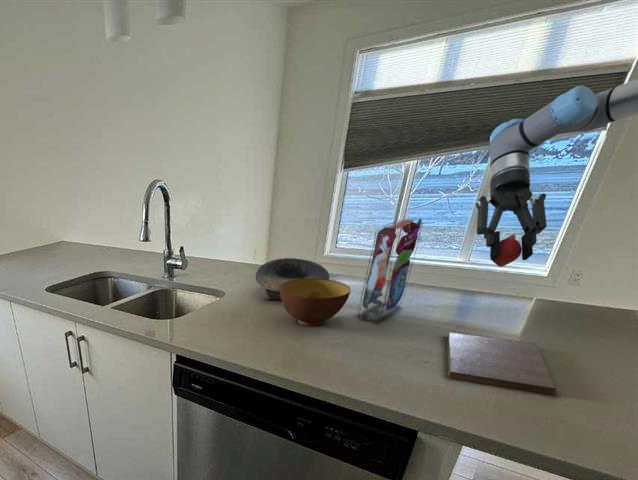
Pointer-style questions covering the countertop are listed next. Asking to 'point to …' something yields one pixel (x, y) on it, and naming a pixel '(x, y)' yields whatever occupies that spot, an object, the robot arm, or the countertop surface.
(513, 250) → the onion
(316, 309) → the bowl
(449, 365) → the cutting board
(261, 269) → the grinding stone
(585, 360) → the countertop surface
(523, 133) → the robot arm
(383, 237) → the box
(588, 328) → the countertop surface
